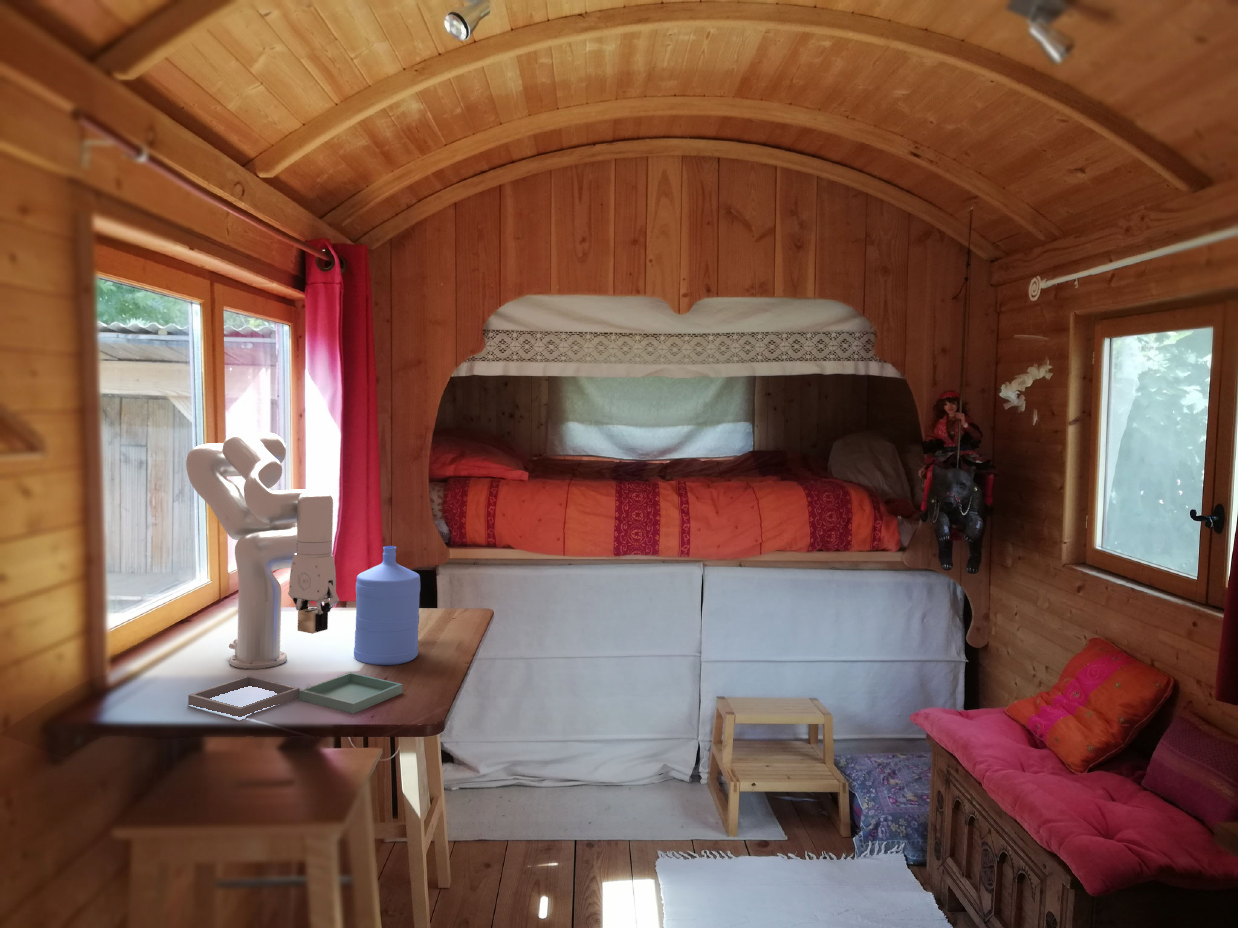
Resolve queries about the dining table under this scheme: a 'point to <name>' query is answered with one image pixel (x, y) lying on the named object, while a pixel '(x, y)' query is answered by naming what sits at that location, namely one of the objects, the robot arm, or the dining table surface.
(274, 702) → the brown tray
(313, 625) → the letter cube
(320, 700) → the green tray
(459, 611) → the dining table surface
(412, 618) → the water jug
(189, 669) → the dining table surface
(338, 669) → the dining table surface
